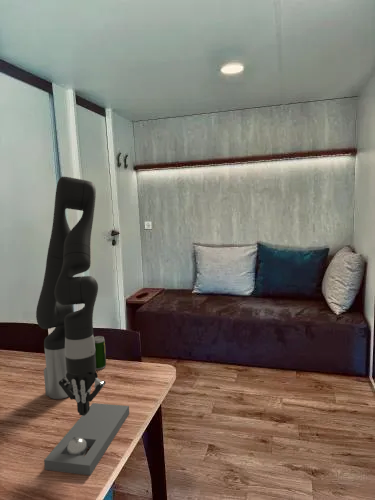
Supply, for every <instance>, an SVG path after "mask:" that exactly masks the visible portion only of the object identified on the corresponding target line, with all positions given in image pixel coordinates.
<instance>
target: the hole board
mask: <svg viewBox="0 0 375 500" xmlns="http://www.w3.org/2000/svg"><path fill="white" fill-rule="evenodd" d="M89 406H90V410H89V411H88V413H87V414H86V415H85V416H83V415H80V416H81V417H79V419H78V420H77V421H76V422H75V423H74V424H73V426H71V428H70V430H69V431H68V432H67V433H66V434H65V435H64V437H62V439H61V440H60V441H58V443H57V445H56V446H55V447H54V448H53V449H52V451H50V452H49V454H48V455H47V456H46V458H44V460H43V463H44V470H45V471H46V470H47V471H51V472H52V471H54V472H61V473H70V474H76V475H84V476H91V475H92V473H93V472H94V470H95V469H96V468H97V465H98V464H99V463H100V462H101V460H102V458H103V456H104V454H105V453H106V451H107V450H108V448H109V447H110V445H111V444H112V442H113V441H114V438H115V437H116V436H117V434H118V432H119V431H120V429H121V428H122V426H123V425H124V423H125V422H126V421H127V418H128V417H129V415H130V406H129V405H122V404H121V405H120V404H109V403H98V402H97V403H96V402H92V403H91V404H90V405H89ZM77 437H80V438H83V439H84V440H85V441H86V443H87V449H89V450H87V452H86V454H85V455H84V456H76V455H68V454H67V446H68V444H69V442H70V441H71V440H72V439H74V438H77Z"/></svg>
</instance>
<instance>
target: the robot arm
mask: <svg viewBox="0 0 375 500" xmlns="http://www.w3.org/2000/svg"><path fill="white" fill-rule="evenodd" d="M96 190H97V189H96V185H95V184H94V182H92V181H89V180H85V179H80V178H77V177H75V178H74V177H70V176H61V177H60V178H59V179H58V181H57V183H56V189H55V197H54V205H53V206H54V208H53V218H52V227H51V232H50V238H49V239H50V240H49V243H48V248H47V253H46V254H47V255H46V261H45V272H44V276H43V281H42V286H41V291H40V294H39V298H38V300H37V304H36V312H35V315H36V316H35V318H36V322H37V325H38V326H39V328H41V329H43V330H49V329H53V330H52V331H51V332H50V333H49V334H48V335H47V336H45V338H44V340H43V347H44V357H45V358H44V359H45V368H44V369H43V378H44V380H43V381H44V388H45V390H44V391H45V396H47V397H49V398H50V399H54V400H61V399H65V398H69V400H71V401H72V400H75V402H76V407H77V413H78V414H79V416H82V415H83V416H85V415H86V414H87V413H88V411H89V410H90V406H91V405H90V402H92V401H93V400H94V398H96V397H97V396H98V394H99V393H100V392H101V390H102V389H103V388H104V386H105V385H106V380H101V379H100V378H98V377H99V376H98V373H97V371H96V357H95V341H94V337H95V336H94V321H93V317H94V309H95V304H96V300H97V296H98V293H99V284H98V282H97V279H95V278H94V277H93V276H91V275H85V276H83V275H82V276H76V275H79V274H83V273H85V272H87V271H88V270H90V268H91V264H92V263H91V240H92V239H91V236H92V229H93V222H94V217H95V206H96V198H97V197H96V196H97V195H96V192H97V191H96ZM66 209H69V210H75V211H81V212H82V215H81V218H80V219H79V220H78V222H77V223H76V224H75V225H74V226H73V227H72V228H70V226H69V223H68V220H67V216H66ZM82 304H83V307H82V308H81V309H78V310H76V311H74V308H73V305H82ZM93 386H94V387H93ZM92 387H93V388H94V389H93V391H92ZM91 391H92V392H91Z"/></svg>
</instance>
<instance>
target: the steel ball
mask: <svg viewBox="0 0 375 500" xmlns="http://www.w3.org/2000/svg"><path fill="white" fill-rule="evenodd" d="M87 452H88V447H87V443H86V441H85V440H84V439H83V438H80V437H77V438H74V439H72V440H71V441H70V442H69V444H68V446H67V454H68V455H76V456H85V455H86V454H87Z"/></svg>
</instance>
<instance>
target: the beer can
mask: <svg viewBox="0 0 375 500" xmlns="http://www.w3.org/2000/svg"><path fill="white" fill-rule="evenodd" d="M94 341H95V357H96V370H98V371H99V370H103V369H105V368H106V366H107V357H106V356H107V355H106V344H105V343H106V340H105V337H104V336H102V335H97V336H94Z"/></svg>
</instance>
